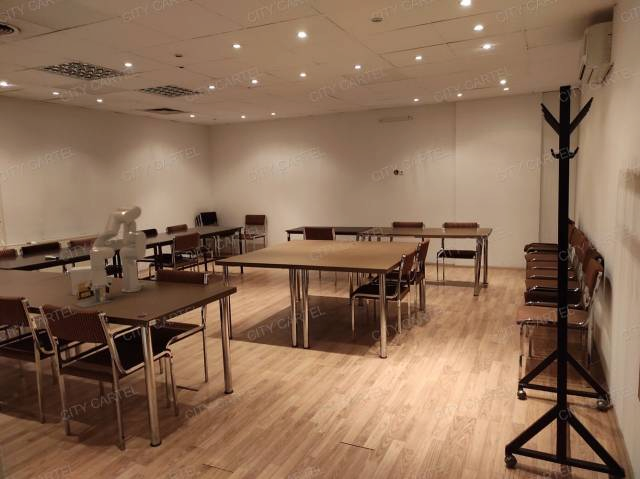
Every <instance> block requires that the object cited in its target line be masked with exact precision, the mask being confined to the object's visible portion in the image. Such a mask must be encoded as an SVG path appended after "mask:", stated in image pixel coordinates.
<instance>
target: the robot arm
mask: <svg viewBox="0 0 640 479" xmlns="http://www.w3.org/2000/svg"><path fill="white" fill-rule="evenodd" d="M141 215H142V209H141V207H140V206H138V205H120V206H118V207H117V208H116V210H115V211H112V212H110V213H109V215H108V218H107V221H106V223H105V224H106V225H105V227H104V230H103V232H102V233H101V234H100V235H99V236H97V238H96V239H95V240H94V241H93V245H92V248H91V249H90V251H89V257H90V266H91V271H90V276H89V282H87V283H86V284H85V286H86V288H87V289H89V290H90V295H91V296H93V297H95V293H94V291H93V288H94V287H97V286H102V287H103V286H105V288H104V289H105V294H110V287H111V285H112V284H113V282H114V281H113V279H112V278H109V277H108V275H107V274H108V273H107V270H106V268H107V265H105V262H104V260H107V259H108V260H109V259H112V258H113V257H114V256H115V254H116V251H115V250H114V248H112V247H111V246H110V247H108V246H107V247H106V246H105V247H104V245H105V243H106V242H108V241H110V240H112V239H113V238H116V237H117V236H118V235H119V231H120V228H121V226H123V231H122V241H123V244H125V245H127V246H123V247H122V248H120V250H119V257H120V260H121V268H122V282H123V288H122V289H121V292H123V293H135V292H138V291H142V287H145V285H146V283H145V282H144V283H143V282H141V283H140V282H139V277H138V266H137V265H138V264H137V263H136V261H141V260H144V259H145V257H146V254H147V252H146V251H147V250H146V249H147V236H146V233H145V232H144V231H142V230H137V221H136V220H137V219H139V217H141ZM122 224H123V225H122ZM128 245H129V246H128ZM131 245H132V246H131ZM134 245H135V246H134ZM89 284H90V287H89V286H88V285H89Z"/></svg>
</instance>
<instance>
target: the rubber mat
mask: <svg viewBox="0 0 640 479" xmlns="http://www.w3.org/2000/svg"><path fill="white" fill-rule="evenodd" d="M105 300H106V301H104V302H99V301H96V298H94V299H92V300H87V301H82V302H78V303H73V306H75V307H77V308H81V309H86V308H92V307H96V306H99V305H104V304H110V303H113V301H112V300H111V299H110V300H109V299H106V298H105Z"/></svg>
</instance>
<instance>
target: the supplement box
mask: <svg viewBox="0 0 640 479" xmlns="http://www.w3.org/2000/svg"><path fill="white" fill-rule="evenodd" d="M90 271H91V265H86V266H74V267H72V268H71V269H70V272H69V273H70V281H71V292H72V295H71V296H77V292H78V291H77V283H78V282H79V286H80V281H81V283H82V281H84V286H85V280H86V283H87V280H88V281H89V276H90ZM95 288H103V286H97V287H94V288H93V291H94V294H95Z"/></svg>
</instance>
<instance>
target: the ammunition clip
mask: <svg viewBox="0 0 640 479" xmlns="http://www.w3.org/2000/svg"><path fill="white" fill-rule="evenodd" d="M87 282H89V281H88V280H87ZM85 284H86V280H85ZM88 286H89V287H90V284H89V285H88ZM77 291H78V292H77V295H76V296H77V300H78V301H80V300H84V299H88V298H91V297H93V298H94V296H91V295H90V290H89V289H87V288H86V286H84V281H82V283H81V281H80V286H79V282H78V283H77Z"/></svg>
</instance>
